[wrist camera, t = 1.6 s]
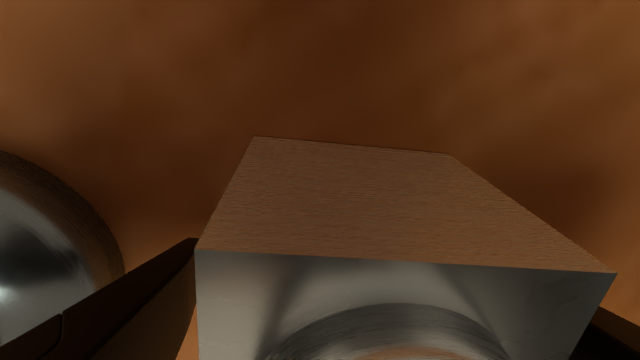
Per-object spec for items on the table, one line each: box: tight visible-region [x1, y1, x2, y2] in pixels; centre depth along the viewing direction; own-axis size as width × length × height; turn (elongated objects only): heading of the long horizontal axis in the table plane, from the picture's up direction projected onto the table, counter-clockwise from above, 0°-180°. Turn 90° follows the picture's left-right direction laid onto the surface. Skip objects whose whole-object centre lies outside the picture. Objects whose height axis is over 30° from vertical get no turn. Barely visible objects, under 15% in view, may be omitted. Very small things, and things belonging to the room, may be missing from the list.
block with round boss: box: [194, 136, 617, 360], centre depth 7 cm, size 6×6×7 cm
